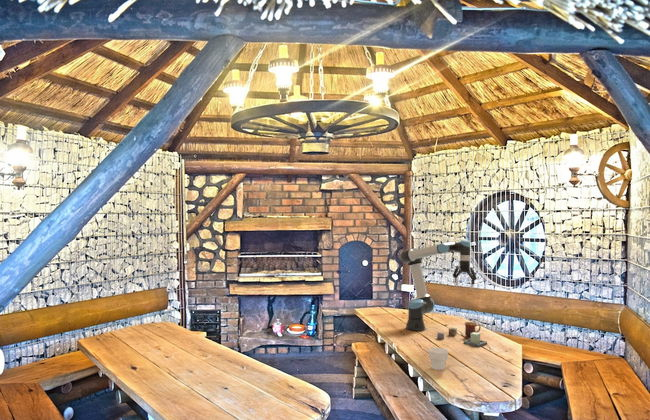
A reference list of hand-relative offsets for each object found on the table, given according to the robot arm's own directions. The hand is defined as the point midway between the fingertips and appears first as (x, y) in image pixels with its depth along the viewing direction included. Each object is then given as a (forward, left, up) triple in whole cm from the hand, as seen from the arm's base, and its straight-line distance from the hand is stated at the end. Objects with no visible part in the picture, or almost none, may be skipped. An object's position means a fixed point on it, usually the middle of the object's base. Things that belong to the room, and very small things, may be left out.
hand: (464, 287), depth 403 cm
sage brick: (+21, -18, -36) cm, 45 cm away
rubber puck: (-4, -25, -37) cm, 44 cm away
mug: (+9, -2, -37) cm, 38 cm away
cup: (+34, -84, -37) cm, 97 cm away
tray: (+21, -18, -37) cm, 45 cm away
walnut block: (-4, -9, -37) cm, 38 cm away
